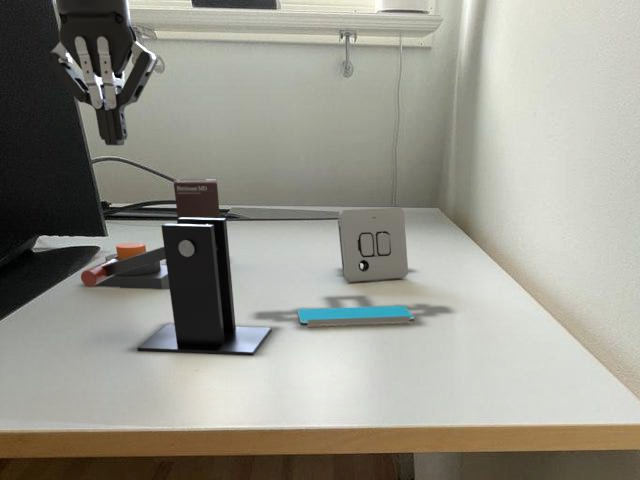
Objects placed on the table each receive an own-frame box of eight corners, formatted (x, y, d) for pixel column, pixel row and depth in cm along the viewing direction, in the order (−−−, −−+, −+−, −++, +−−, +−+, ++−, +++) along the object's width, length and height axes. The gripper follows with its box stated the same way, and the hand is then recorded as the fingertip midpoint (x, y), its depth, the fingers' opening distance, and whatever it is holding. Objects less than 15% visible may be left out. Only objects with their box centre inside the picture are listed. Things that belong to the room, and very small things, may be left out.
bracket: (138, 360, 62) (116, 227, 56) (168, 335, 69) (151, 214, 63) (253, 364, 61) (243, 229, 55) (272, 339, 68) (265, 216, 62)
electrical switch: (346, 284, 90) (343, 210, 86) (334, 279, 94) (331, 209, 90) (409, 279, 93) (409, 208, 89) (394, 275, 97) (394, 207, 93)
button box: (86, 293, 84) (80, 261, 82) (113, 279, 91) (108, 249, 89) (163, 296, 83) (158, 263, 81) (183, 281, 90) (180, 251, 88)
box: (183, 272, 96) (172, 181, 90) (183, 266, 99) (172, 178, 93) (225, 270, 97) (217, 180, 91) (224, 264, 101) (216, 178, 95)
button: (113, 261, 84) (111, 247, 83) (125, 256, 87) (122, 242, 86) (140, 262, 84) (138, 248, 83) (151, 257, 87) (149, 243, 86)
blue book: (426, 303, 81) (427, 290, 80) (453, 332, 70) (454, 316, 70) (262, 309, 78) (261, 295, 77) (264, 339, 68) (263, 323, 67)
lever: (87, 293, 61) (75, 267, 59) (113, 280, 65) (102, 256, 64) (206, 257, 58) (196, 229, 57) (224, 246, 63) (214, 220, 62)
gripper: (159, -31, 73) (179, 144, 82) (45, -30, 74) (76, 143, 83) (132, -45, 67) (157, 147, 75) (7, -43, 68) (46, 146, 76)
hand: (114, 144), depth 79 cm, fingers closed
